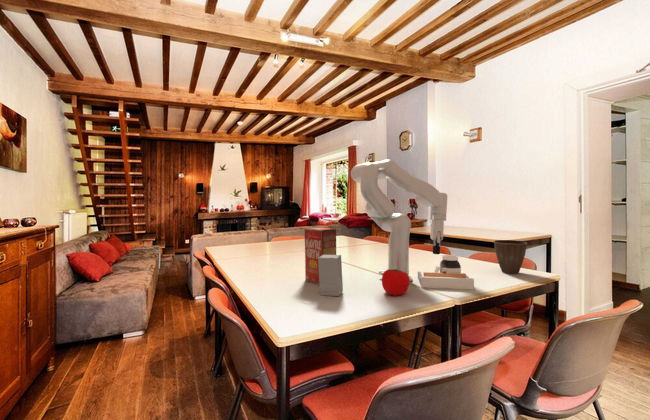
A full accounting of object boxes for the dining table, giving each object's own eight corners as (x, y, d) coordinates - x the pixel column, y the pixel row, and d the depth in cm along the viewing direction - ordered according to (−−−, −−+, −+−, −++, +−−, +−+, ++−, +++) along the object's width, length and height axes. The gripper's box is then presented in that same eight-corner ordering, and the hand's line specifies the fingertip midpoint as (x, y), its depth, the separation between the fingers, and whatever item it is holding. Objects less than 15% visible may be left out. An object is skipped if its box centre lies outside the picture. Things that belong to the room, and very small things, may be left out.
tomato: (378, 296, 127) (378, 270, 127) (384, 288, 139) (384, 264, 139) (407, 299, 123) (407, 273, 123) (411, 290, 135) (411, 266, 135)
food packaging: (304, 280, 153) (303, 228, 152) (318, 277, 159) (318, 226, 158) (322, 286, 143) (322, 230, 142) (337, 282, 149) (337, 228, 149)
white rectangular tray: (421, 287, 140) (421, 277, 140) (417, 277, 157) (417, 268, 156) (473, 289, 136) (474, 279, 136) (464, 279, 153) (464, 270, 152)
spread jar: (463, 283, 145) (463, 258, 145) (439, 284, 144) (439, 258, 144) (450, 277, 157) (450, 253, 157) (428, 277, 156) (428, 254, 156)
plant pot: (499, 275, 160) (499, 243, 160) (489, 268, 175) (489, 239, 174) (532, 276, 158) (532, 244, 157) (519, 269, 172) (519, 240, 172)
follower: (423, 283, 146) (423, 271, 146) (423, 282, 147) (423, 270, 147) (466, 285, 142) (466, 272, 142) (465, 284, 144) (465, 271, 144)
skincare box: (343, 292, 133) (342, 254, 132) (338, 297, 126) (337, 257, 126) (323, 290, 136) (323, 253, 135) (317, 295, 129) (317, 256, 129)
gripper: (428, 216, 169) (426, 251, 169) (432, 217, 154) (430, 255, 154) (443, 217, 167) (441, 252, 168) (449, 218, 153) (446, 256, 153)
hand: (436, 253), depth 161 cm, fingers closed
